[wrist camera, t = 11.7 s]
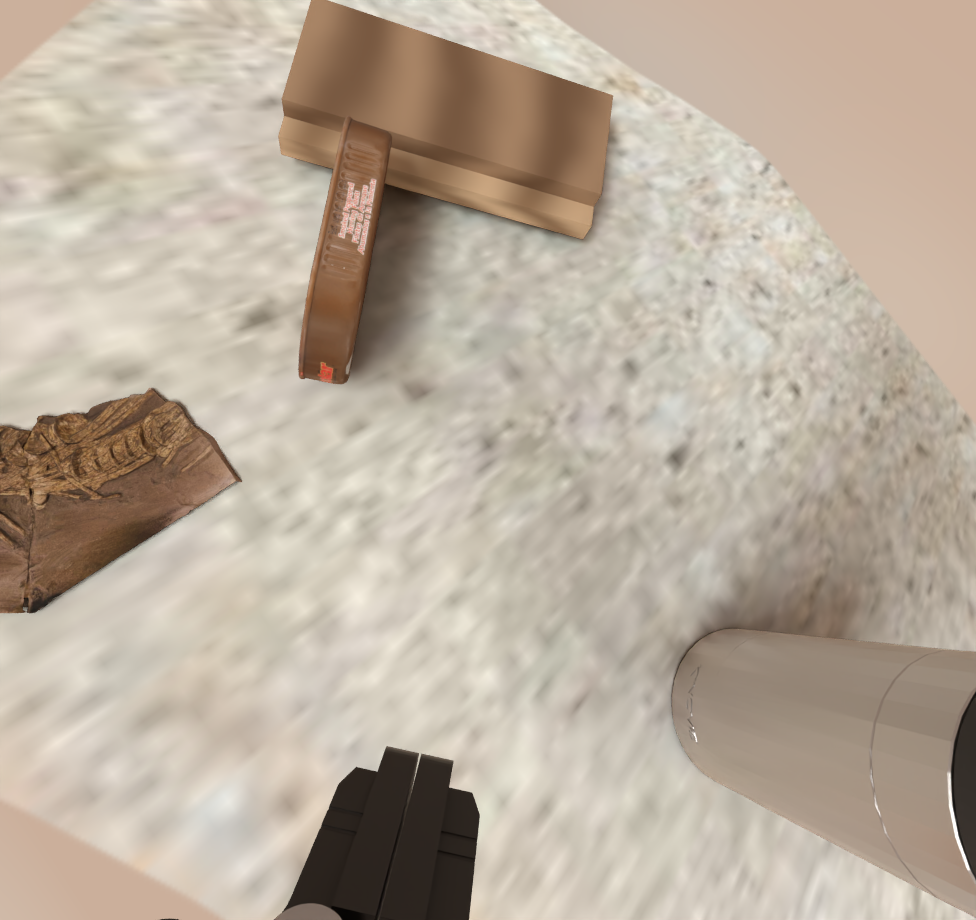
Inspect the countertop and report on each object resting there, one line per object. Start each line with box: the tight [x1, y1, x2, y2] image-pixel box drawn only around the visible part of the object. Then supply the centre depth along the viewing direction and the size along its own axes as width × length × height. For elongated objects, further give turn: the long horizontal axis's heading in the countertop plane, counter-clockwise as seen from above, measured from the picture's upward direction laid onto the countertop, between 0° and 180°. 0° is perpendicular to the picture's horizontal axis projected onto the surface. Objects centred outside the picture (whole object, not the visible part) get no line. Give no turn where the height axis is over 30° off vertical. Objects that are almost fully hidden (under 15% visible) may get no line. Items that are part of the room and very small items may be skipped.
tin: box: [298, 116, 392, 384], centre depth 32 cm, size 15×3×8 cm, turn 173°
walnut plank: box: [278, 0, 613, 239], centre depth 38 cm, size 20×10×4 cm, turn 81°
